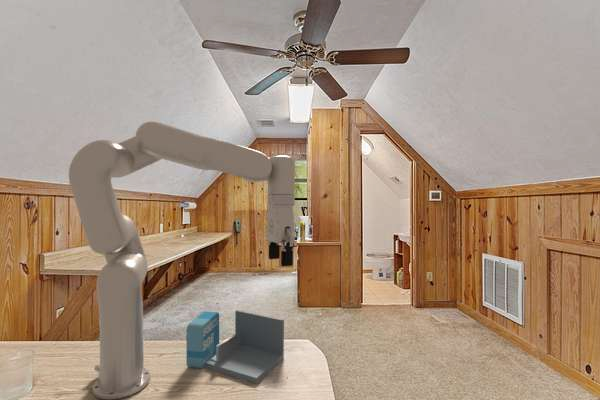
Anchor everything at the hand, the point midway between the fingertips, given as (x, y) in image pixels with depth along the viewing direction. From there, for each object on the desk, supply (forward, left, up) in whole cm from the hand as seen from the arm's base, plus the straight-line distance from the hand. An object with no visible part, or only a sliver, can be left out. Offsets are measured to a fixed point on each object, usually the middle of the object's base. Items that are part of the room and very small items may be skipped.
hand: (280, 262), depth 94 cm
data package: (-20, -8, -29) cm, 36 cm away
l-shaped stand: (-8, -5, -29) cm, 30 cm away
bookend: (-15, -5, -27) cm, 31 cm away
